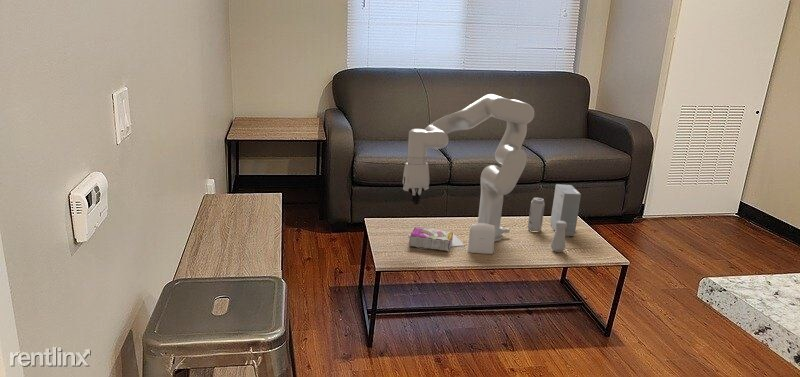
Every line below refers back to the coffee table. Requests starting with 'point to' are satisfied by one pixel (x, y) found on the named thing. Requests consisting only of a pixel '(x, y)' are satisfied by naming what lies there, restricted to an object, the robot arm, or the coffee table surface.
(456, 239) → the mat
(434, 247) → the candy bar box
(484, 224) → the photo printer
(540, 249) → the coffee table surface
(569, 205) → the hard drive box
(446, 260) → the coffee table surface
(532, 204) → the energy drink can
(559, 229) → the salt shaker
